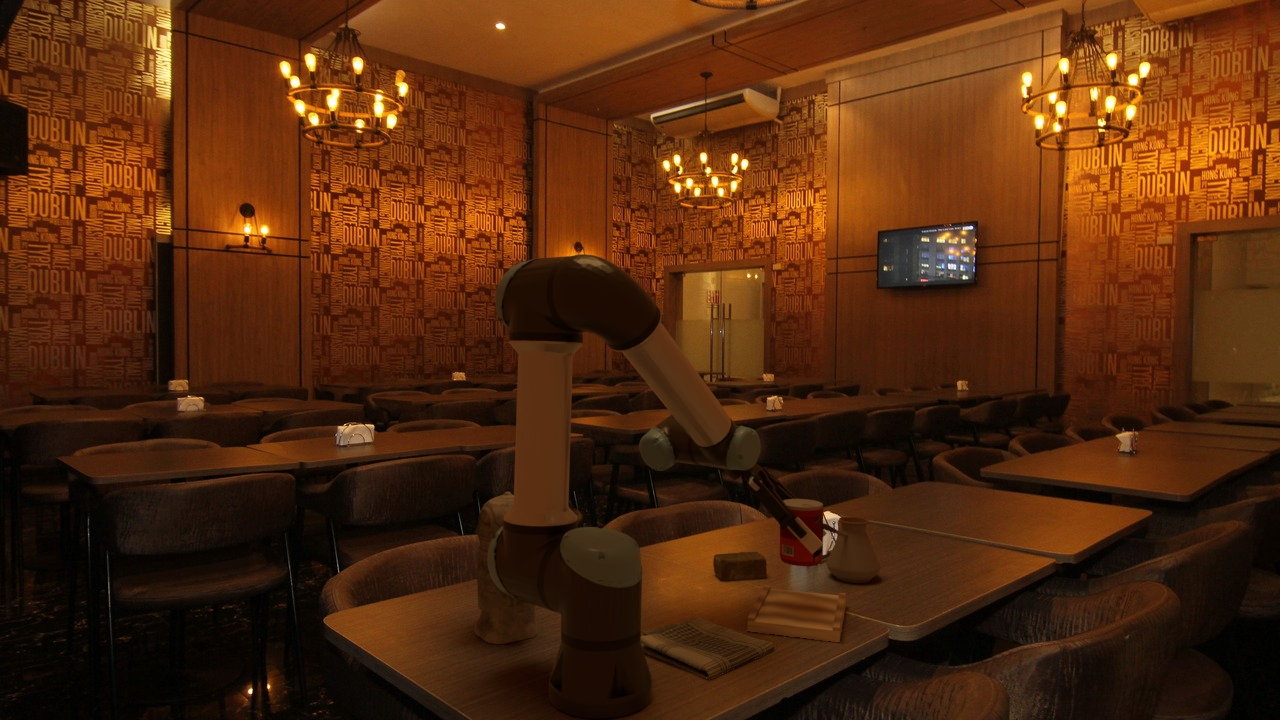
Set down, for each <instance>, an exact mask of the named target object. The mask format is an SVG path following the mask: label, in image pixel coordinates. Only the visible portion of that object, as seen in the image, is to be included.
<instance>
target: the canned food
mask: <svg viewBox="0 0 1280 720" xmlns="http://www.w3.org/2000/svg"><path fill="white" fill-rule="evenodd" d="M783 501H784V503H785V504H786V505H787V507H788V508H789V509H790V510H791V512H792V513H793V514H794V515H795V516H796V518H797V517H799V518H800V519H801V520H802V522H803V523H804V524H805V525H806V526H807V527H808V528H809V529H810V530H811V531H812V532H813V533H814V534H815V535H816V536H817V537H818V538H819V540H820V541H821V542H822V543H823V545H822V546H821V547H820V548H819V549H818V550H817V551H815V552H814V553H813V554H812V553H811V552H810V551H809V550H808V549H807V548H806V547H805V546H804V545H803V544H802V543H801V542H800V541H799V540H798V539H797V537H796V536H795V535H794V534H793V533H792V532H791V531H790V530H789V529H788V528H787V527H786V528H785V529H784V530H783V529H782V528H781V525H780V524H779V557H780V558H779V559H781V562H782V563H785V564H787V565H791V566H796V567H815V566H818V565H820V564H822V561H823V559H824V537H823V523H824V504H823V502H820V501H818V500H814V499H805V498H797V499H787V500H783Z"/></svg>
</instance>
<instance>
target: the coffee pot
mask: <svg viewBox="0 0 1280 720" xmlns="http://www.w3.org/2000/svg"><path fill="white" fill-rule="evenodd" d="M838 522H839V523H840V525H841V530H838V529H836V528H834V527H832V526H831V525H829V524H827V523H824V522H823V529H824V530H825V531H826V532H830V533H833V534H836V535H838V536H837V539H836V540H835V543H834V545H833V547H832V550H831V551H830V553H829V556H828V559H827V561H826V566H827V569H828V570H829V571H830V572H831V574H832V575H834V576H835V578H836V579H837V580H839V581H841V582H846V583H852V584H853V583H856V584H857V583H858V584H859V583H860V584H862V583H863V584H864V583H868V582H870V581H872V579H873V578H875V577H876V576H877V575H878V574H879V572H880V570H881V565H880V563H879V560H878V558H877V556H876V552H875V550H874V548H873V546H872V542H871V541H870V538H869V536H868V533H867V531H866V529H867V527H868V526H867V525H868V524H869V523H870V521H869V519H866V518H863V517H858V516H857V517H855V516H846V517H844V516H843V517H839V519H838Z"/></svg>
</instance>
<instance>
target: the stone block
mask: <svg viewBox="0 0 1280 720" xmlns="http://www.w3.org/2000/svg"><path fill="white" fill-rule="evenodd" d="M712 562H713V563H712V565H713V571H714V574H715V576H716V577H717V578H718V579H719V580H721V581H722V582H731V581H743V580H744V581H745V580H746V581H748V580H760V579H762V580H763V579H766V578H767V576H768V575H767V574H768V571H767V566H768V565H767V559H766V557H765V556H764V555H762V553H760V552H758V551H739V552H732V553H731V552H730V553H718V554H714V556H713V561H712Z"/></svg>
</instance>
